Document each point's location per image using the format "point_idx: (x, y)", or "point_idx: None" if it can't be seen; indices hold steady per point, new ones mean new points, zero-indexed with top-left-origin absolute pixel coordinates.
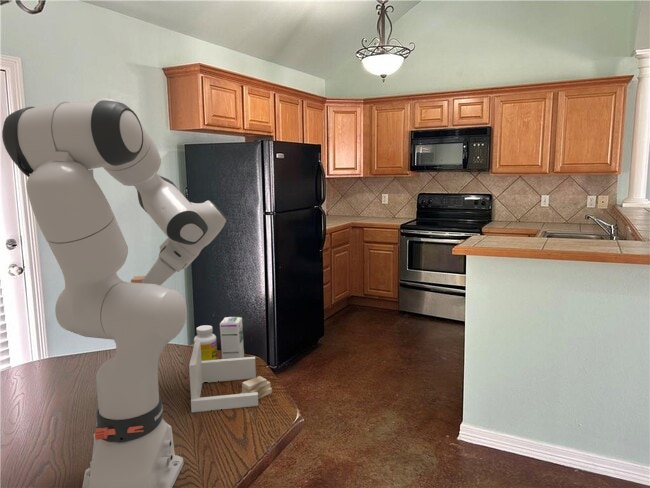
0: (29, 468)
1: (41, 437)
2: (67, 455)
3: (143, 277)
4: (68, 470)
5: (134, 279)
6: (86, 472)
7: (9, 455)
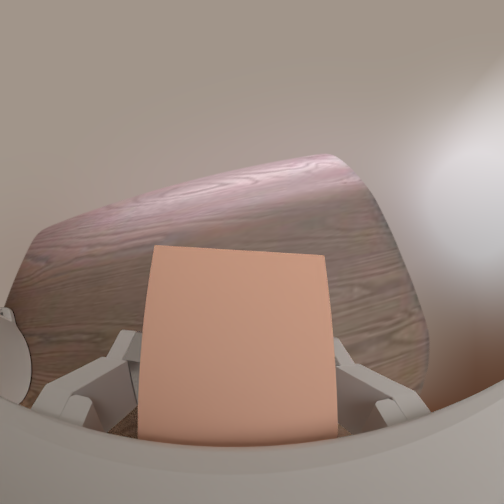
0: (47, 246)
1: (107, 238)
2: (52, 281)
3: (244, 372)
4: (25, 288)
5: (165, 279)
6: (3, 309)
7: (83, 216)
